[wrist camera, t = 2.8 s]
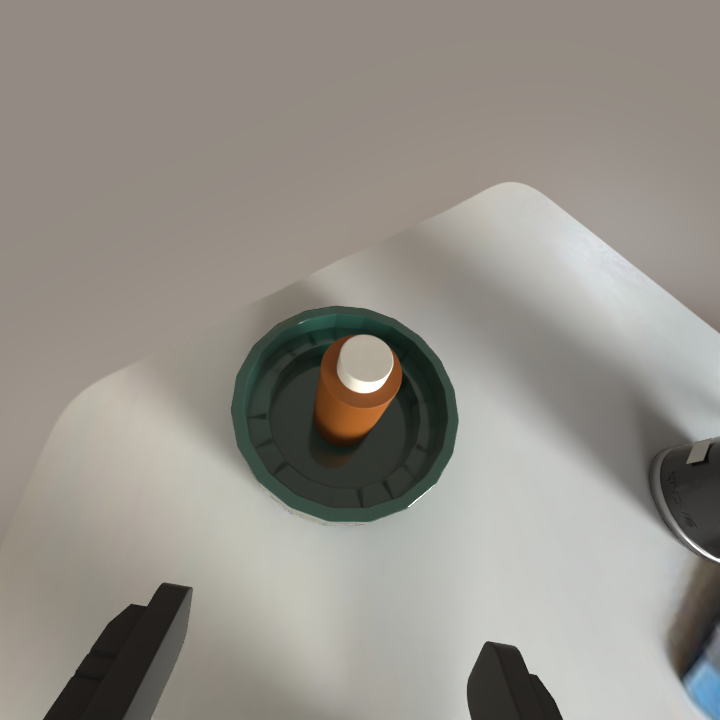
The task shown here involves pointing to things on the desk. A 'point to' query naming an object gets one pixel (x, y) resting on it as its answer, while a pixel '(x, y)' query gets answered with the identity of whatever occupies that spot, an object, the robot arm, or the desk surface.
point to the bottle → (354, 388)
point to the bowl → (324, 460)
